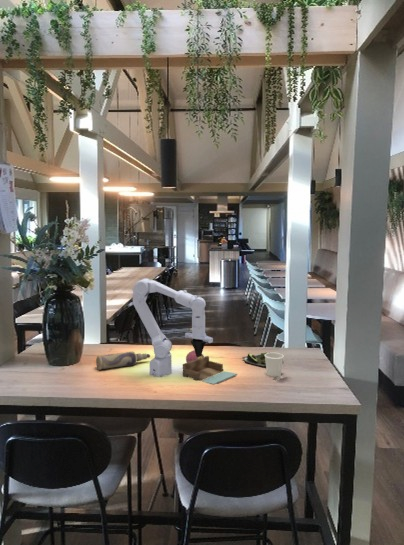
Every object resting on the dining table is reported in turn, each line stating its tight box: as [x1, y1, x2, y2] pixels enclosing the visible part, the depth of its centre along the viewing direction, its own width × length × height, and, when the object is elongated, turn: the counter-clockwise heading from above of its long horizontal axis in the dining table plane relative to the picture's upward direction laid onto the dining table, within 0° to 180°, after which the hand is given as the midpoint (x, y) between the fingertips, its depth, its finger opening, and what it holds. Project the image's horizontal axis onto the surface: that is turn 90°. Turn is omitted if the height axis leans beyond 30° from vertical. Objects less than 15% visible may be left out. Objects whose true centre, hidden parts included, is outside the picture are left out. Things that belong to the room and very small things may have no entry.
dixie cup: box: [264, 352, 285, 381], centre depth 190 cm, size 8×8×10 cm
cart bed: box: [182, 355, 224, 382], centre depth 191 cm, size 18×10×6 cm, turn 138°
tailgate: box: [201, 370, 238, 386], centre depth 186 cm, size 16×1×8 cm
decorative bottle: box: [95, 351, 151, 371], centre depth 207 cm, size 26×8×7 cm, turn 117°
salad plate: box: [241, 352, 271, 369], centre depth 213 cm, size 19×18×5 cm
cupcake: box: [185, 350, 205, 363], centre depth 201 cm, size 9×8×12 cm
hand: (198, 356), depth 190 cm, fingers closed
